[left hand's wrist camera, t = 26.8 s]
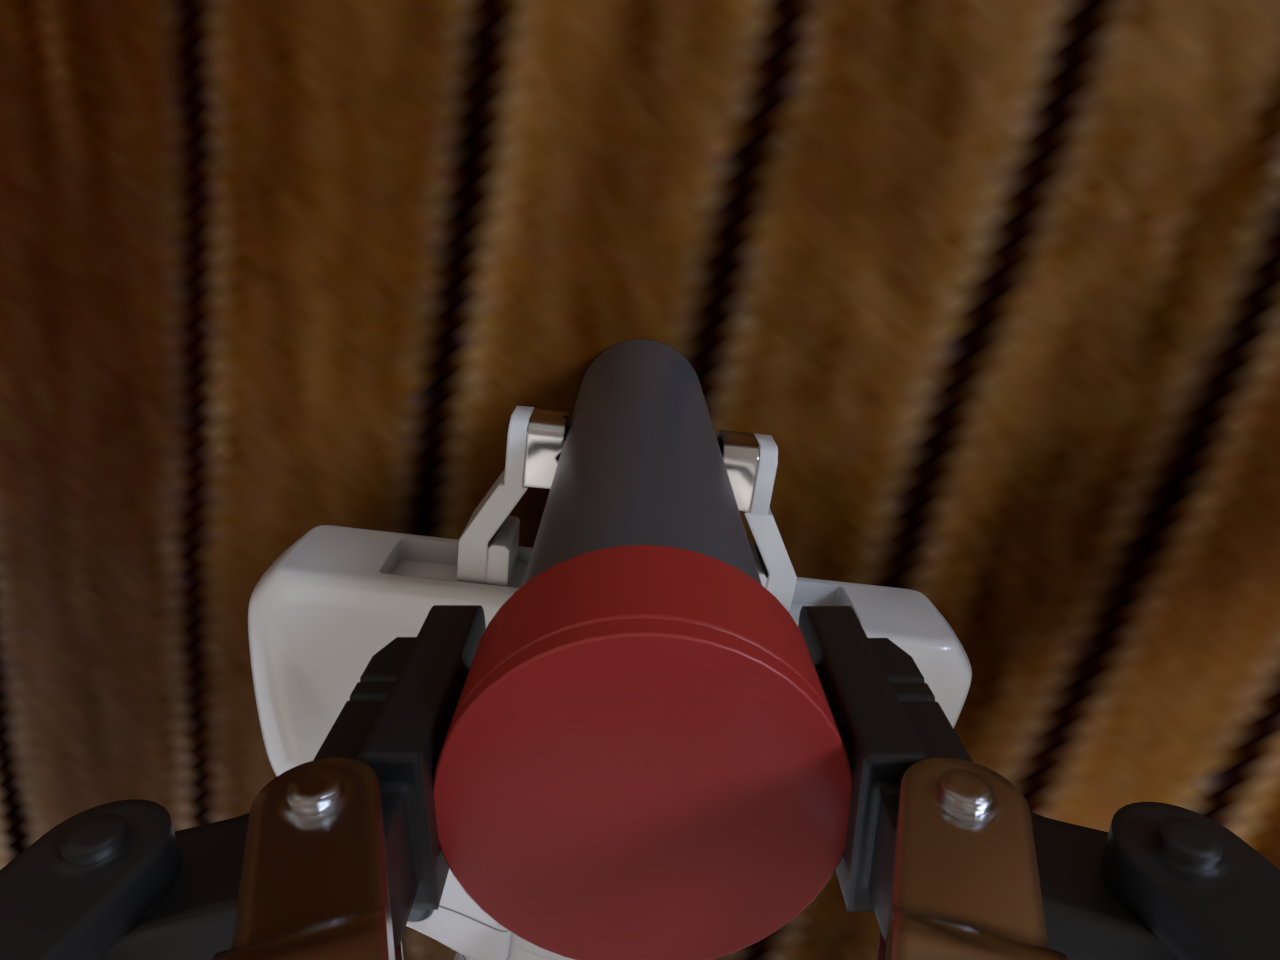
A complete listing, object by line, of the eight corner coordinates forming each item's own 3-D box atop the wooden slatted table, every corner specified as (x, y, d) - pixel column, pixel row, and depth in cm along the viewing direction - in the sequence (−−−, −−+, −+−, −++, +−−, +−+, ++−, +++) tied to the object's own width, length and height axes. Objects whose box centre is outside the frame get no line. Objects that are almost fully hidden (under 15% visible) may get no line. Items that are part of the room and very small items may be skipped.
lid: (411, 611, 11) (353, 716, 9) (752, 491, 10) (782, 572, 8) (552, 868, 13) (534, 1010, 10) (854, 777, 12) (903, 908, 10)
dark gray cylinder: (608, 475, 28) (559, 929, 11) (559, 367, 27) (416, 691, 10) (719, 432, 28) (852, 839, 10) (675, 319, 26) (743, 574, 9)
